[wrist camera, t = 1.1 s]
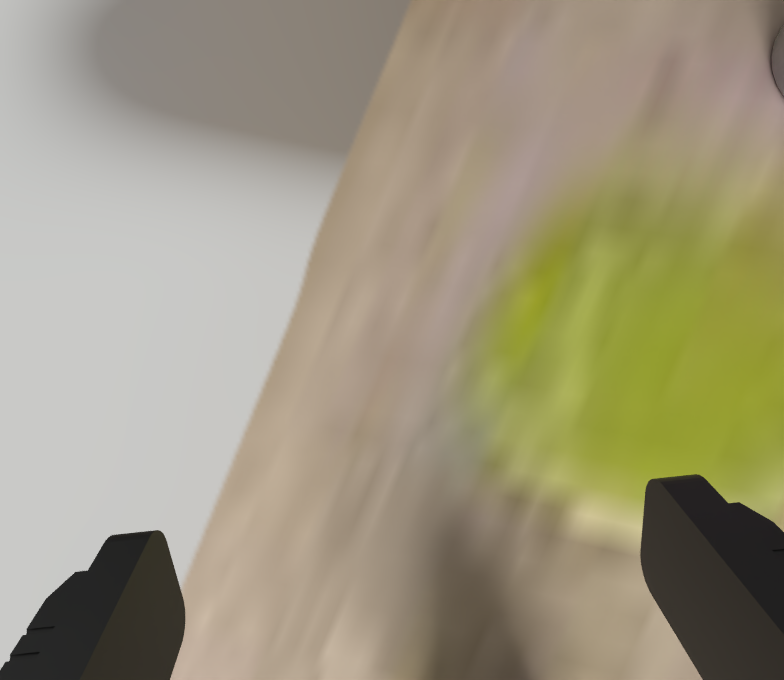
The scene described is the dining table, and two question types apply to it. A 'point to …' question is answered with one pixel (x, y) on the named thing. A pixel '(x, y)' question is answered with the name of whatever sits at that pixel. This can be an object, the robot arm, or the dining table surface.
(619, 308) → the dining table surface
